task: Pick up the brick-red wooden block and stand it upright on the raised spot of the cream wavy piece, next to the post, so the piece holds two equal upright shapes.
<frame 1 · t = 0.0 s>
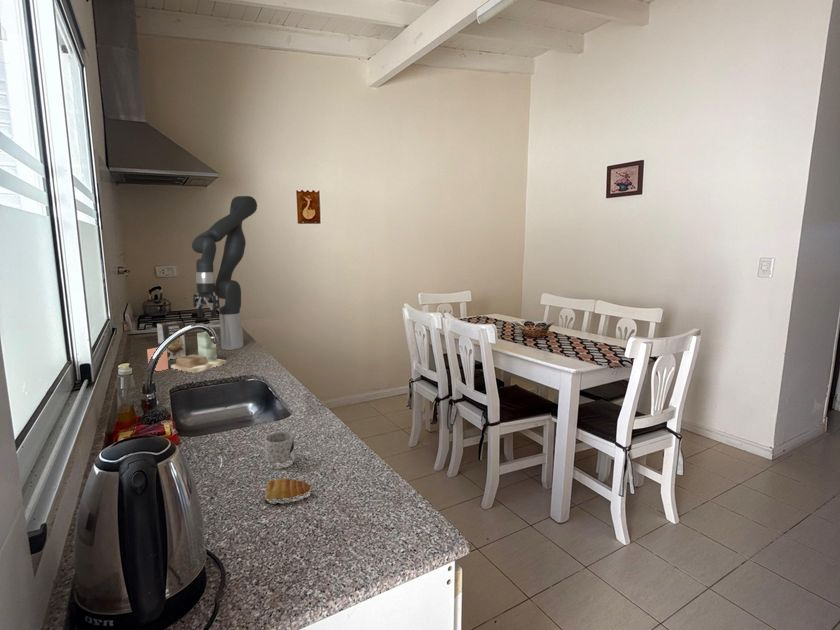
hand: (206, 317, 220), 17 cm above the countertop, tool pointing down, fingers open, 8 cm apart
pastry: (285, 498, 102), on the countertop
brick block: (158, 370, 195), on the countertop
coffee box: (172, 358, 215), on the countertop
mug: (278, 461, 118), on the countertop
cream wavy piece: (199, 366, 202), on the countertop
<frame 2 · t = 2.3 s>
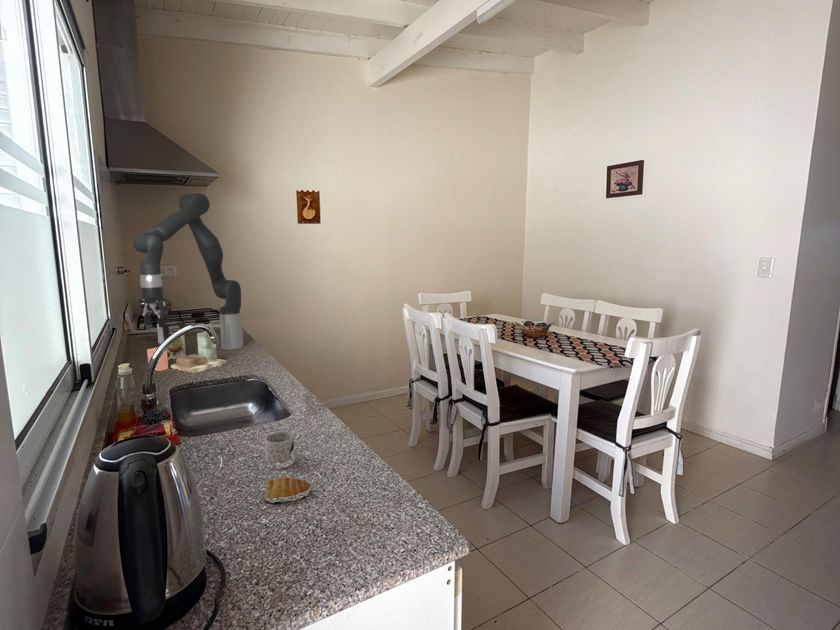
hand: (154, 326, 192), 18 cm above the countertop, tool pointing down, fingers open, 8 cm apart
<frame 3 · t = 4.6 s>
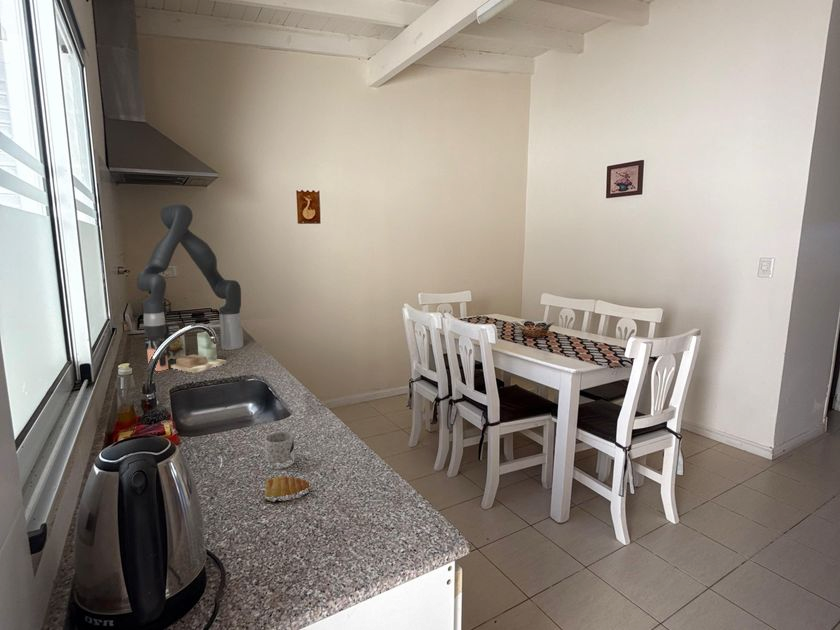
hand: (158, 364, 195), 2 cm above the countertop, tool pointing down, fingers closed on brick block, 5 cm apart
brick block: (158, 370, 195), on the countertop, touching gripper
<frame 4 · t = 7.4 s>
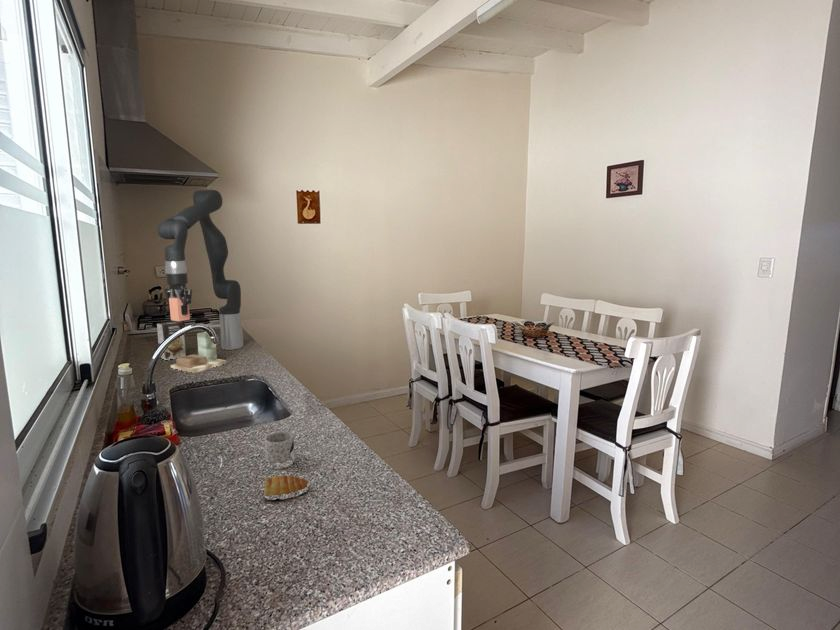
hand: (180, 313, 195), 23 cm above the countertop, tool pointing down, fingers closed on brick block, 5 cm apart
brick block: (180, 319, 195), point 20 cm above the countertop, touching gripper
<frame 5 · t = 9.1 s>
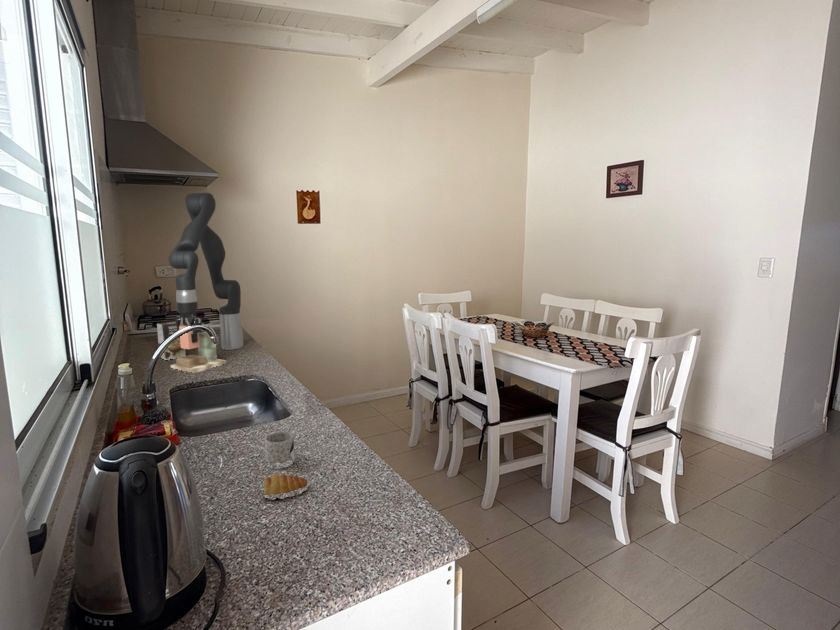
hand: (189, 341, 197), 11 cm above the countertop, tool pointing down, fingers closed on brick block, 5 cm apart
brick block: (190, 347, 197), point 9 cm above the countertop, touching gripper
when the fingers open (8 cm above the countertop, at t = 10.5 s): brick block drops 1 cm, resting on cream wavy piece.
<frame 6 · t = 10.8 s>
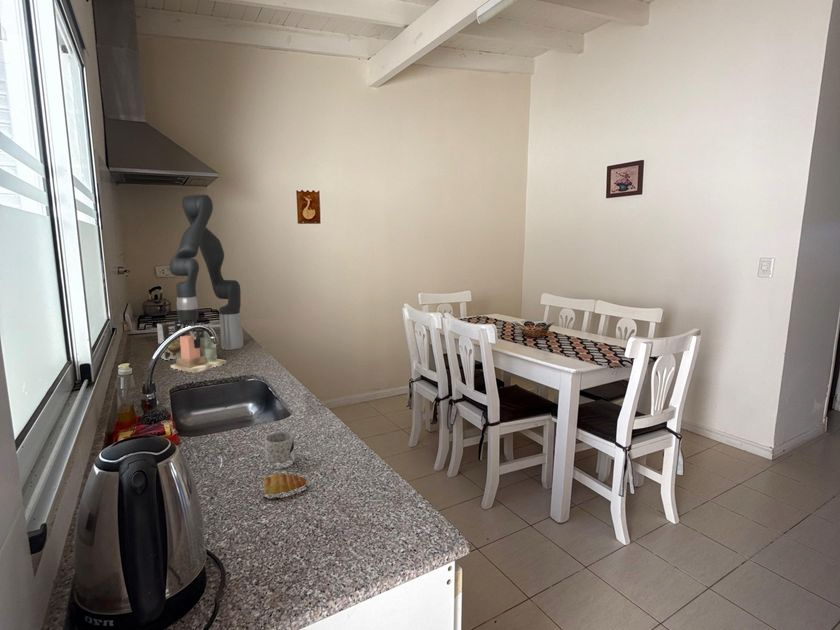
hand: (190, 346, 197), 9 cm above the countertop, tool pointing down, fingers open, 8 cm apart
brick block: (190, 357, 198), point 4 cm above the countertop, touching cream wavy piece
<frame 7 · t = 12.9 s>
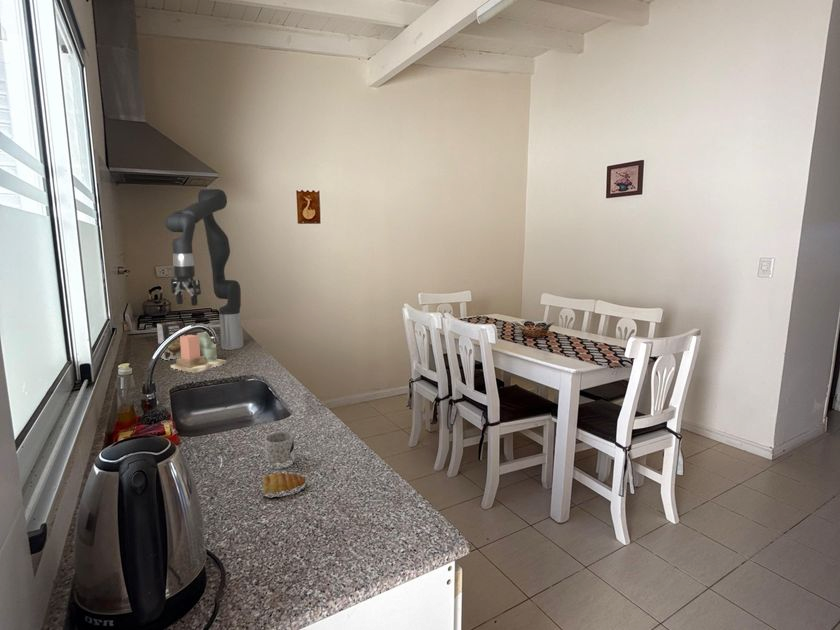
hand: (187, 304, 195), 26 cm above the countertop, tool pointing down, fingers open, 8 cm apart
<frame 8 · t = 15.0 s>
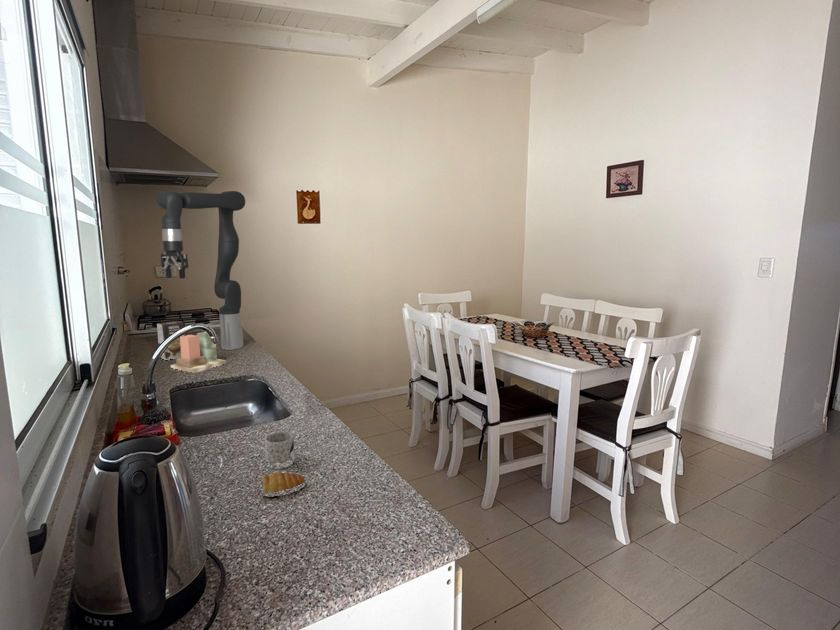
hand: (175, 278, 207), 36 cm above the countertop, tool pointing down, fingers open, 8 cm apart
at the end: brick block 0.1 cm from the target spot on the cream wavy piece, point 4.5 cm above the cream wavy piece's base; brick block tilted 0°; the gripper is holding nothing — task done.
